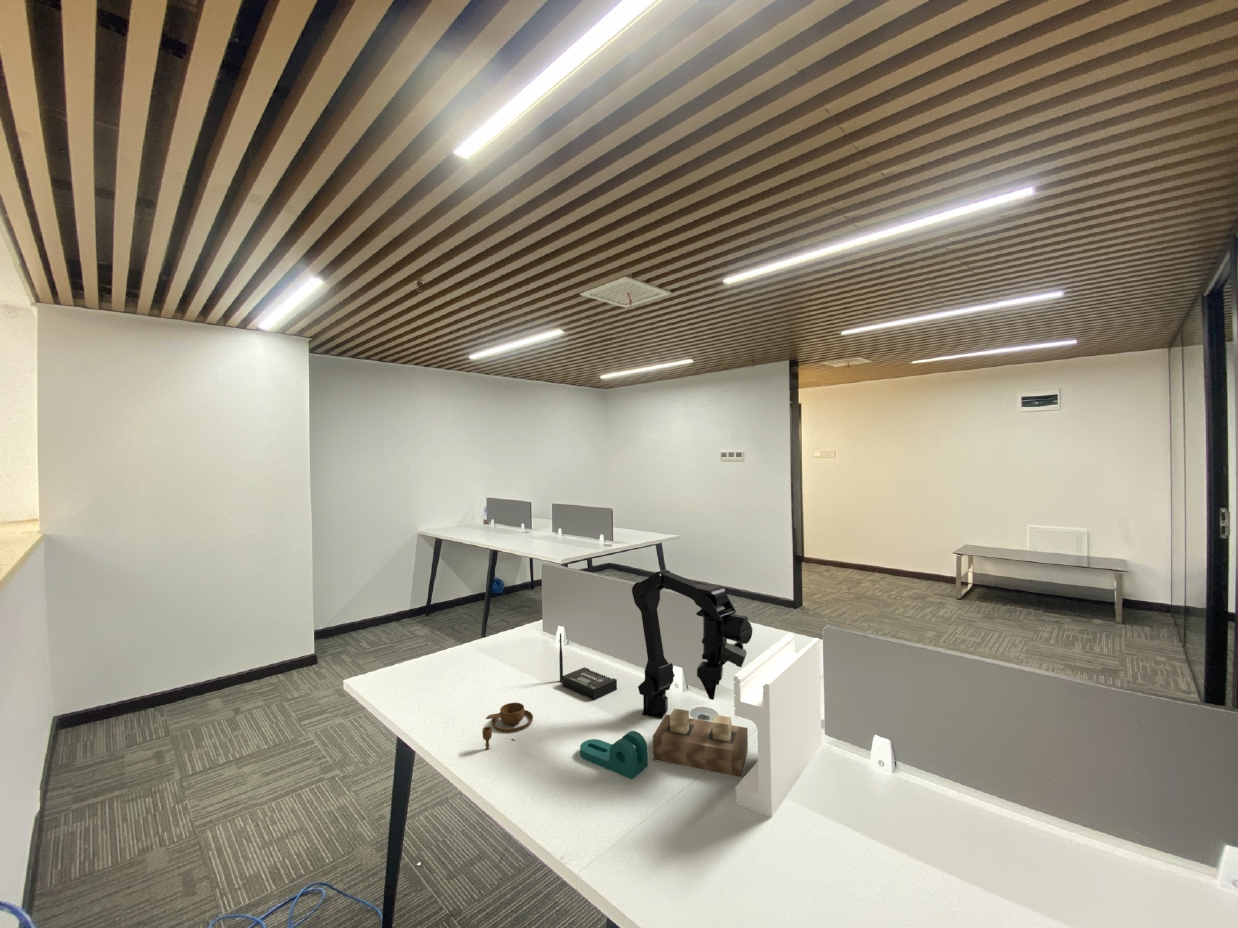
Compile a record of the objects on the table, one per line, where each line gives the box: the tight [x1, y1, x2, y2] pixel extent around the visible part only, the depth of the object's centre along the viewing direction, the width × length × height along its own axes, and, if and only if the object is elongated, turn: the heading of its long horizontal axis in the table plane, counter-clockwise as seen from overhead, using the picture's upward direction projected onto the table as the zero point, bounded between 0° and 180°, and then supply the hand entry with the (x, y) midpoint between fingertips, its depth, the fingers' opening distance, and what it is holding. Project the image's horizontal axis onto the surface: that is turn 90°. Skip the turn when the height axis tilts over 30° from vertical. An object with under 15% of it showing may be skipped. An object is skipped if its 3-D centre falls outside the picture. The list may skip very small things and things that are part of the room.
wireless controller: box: [558, 632, 618, 701], centre depth 174 cm, size 20×14×17 cm
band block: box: [652, 714, 749, 778], centre depth 131 cm, size 22×12×6 cm, turn 69°
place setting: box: [482, 702, 534, 751], centre depth 147 cm, size 18×20×6 cm
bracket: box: [579, 730, 649, 780], centre depth 130 cm, size 18×7×8 cm, turn 54°
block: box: [733, 632, 822, 818], centre depth 124 cm, size 35×8×28 cm, turn 142°
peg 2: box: [711, 714, 732, 742], centre depth 129 cm, size 4×4×6 cm
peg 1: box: [669, 707, 690, 734], centre depth 133 cm, size 4×4×6 cm
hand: (714, 691), depth 139 cm, fingers open, 9 cm apart
